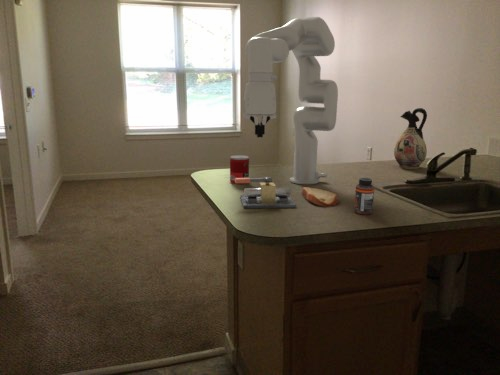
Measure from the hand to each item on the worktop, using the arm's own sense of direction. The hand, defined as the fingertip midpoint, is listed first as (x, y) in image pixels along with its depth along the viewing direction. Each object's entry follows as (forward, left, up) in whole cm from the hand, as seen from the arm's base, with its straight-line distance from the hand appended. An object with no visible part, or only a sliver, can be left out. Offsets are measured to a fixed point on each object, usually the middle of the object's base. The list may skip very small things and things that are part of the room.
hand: (259, 136), depth 145 cm
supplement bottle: (-34, +7, -24) cm, 42 cm away
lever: (+1, -6, -17) cm, 18 cm away
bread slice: (-23, -11, -25) cm, 36 cm away
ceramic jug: (-86, -67, -24) cm, 112 cm away
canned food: (+3, -39, -24) cm, 46 cm away
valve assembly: (-4, -7, -24) cm, 25 cm away
